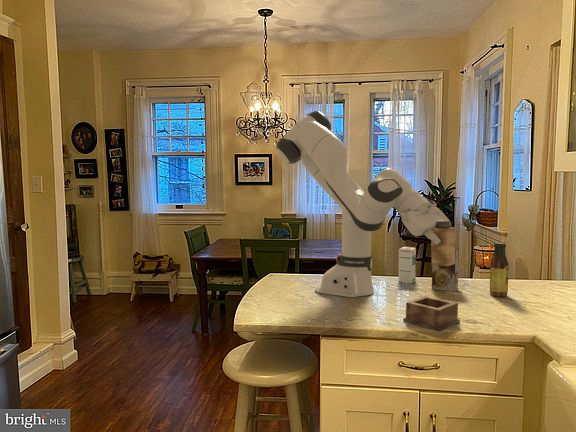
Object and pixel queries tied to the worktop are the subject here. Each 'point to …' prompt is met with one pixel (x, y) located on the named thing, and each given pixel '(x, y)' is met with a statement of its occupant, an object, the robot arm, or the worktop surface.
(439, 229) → the cylinder
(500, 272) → the sauce bottle
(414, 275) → the syrup box
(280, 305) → the worktop surface
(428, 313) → the socket
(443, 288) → the coffee box
